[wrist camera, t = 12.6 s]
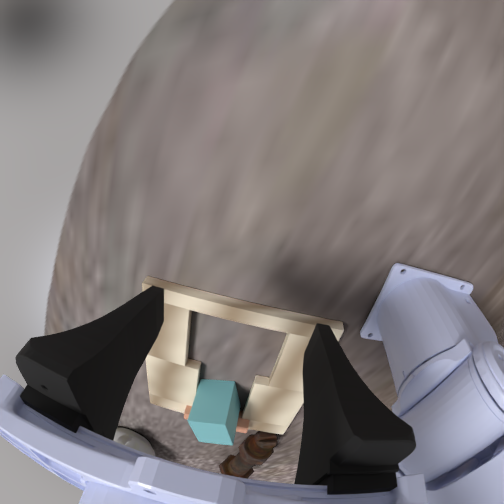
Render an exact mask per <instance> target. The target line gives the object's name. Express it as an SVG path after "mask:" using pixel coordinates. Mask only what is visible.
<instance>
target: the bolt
mask: <svg viewBox="0 0 504 504" xmlns="http://www.w3.org/2000/svg"><path fill="white" fill-rule="evenodd" d="M277 440H278V439H277V436H276V434H275V433H269V432H263V431H258V432H257V433H256V434H255V435H250V436H249V437H248V438H247V439H246V440H244V441H243V443H242V444H241V445H240V446H239V451H240V452H239V453H238V454H237V455H236V456H233V455H230V456H229V457H228V458H227V459H225V460H224V461H223V462H222V463H221V464H220V465H219V468H220V471H221V474H224V475H229V476H235V477H240V478H248V477H249V476H250V475H251V474H252V473H253V472H254V471H253V468H252V467H253V466H254V465H255V464H257V465H262V464H263V463H264V462H265V461H266V460H267V459H268V458H269V457H270V456H271V454H272V453H273V452H274V451H273V448H274V447H275V446H276V445H277Z"/></svg>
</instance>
